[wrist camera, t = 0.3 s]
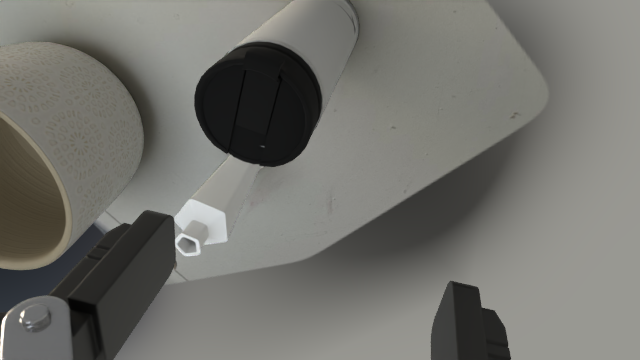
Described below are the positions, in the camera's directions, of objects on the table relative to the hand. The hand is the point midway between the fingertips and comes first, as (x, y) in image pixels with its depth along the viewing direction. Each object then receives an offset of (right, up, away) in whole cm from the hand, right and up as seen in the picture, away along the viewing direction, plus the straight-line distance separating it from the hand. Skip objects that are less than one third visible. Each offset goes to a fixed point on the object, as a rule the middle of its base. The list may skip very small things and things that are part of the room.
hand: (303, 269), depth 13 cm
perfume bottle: (-6, +5, +34) cm, 35 cm away
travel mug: (+1, +16, +26) cm, 31 cm away
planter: (-23, +10, +35) cm, 44 cm away
